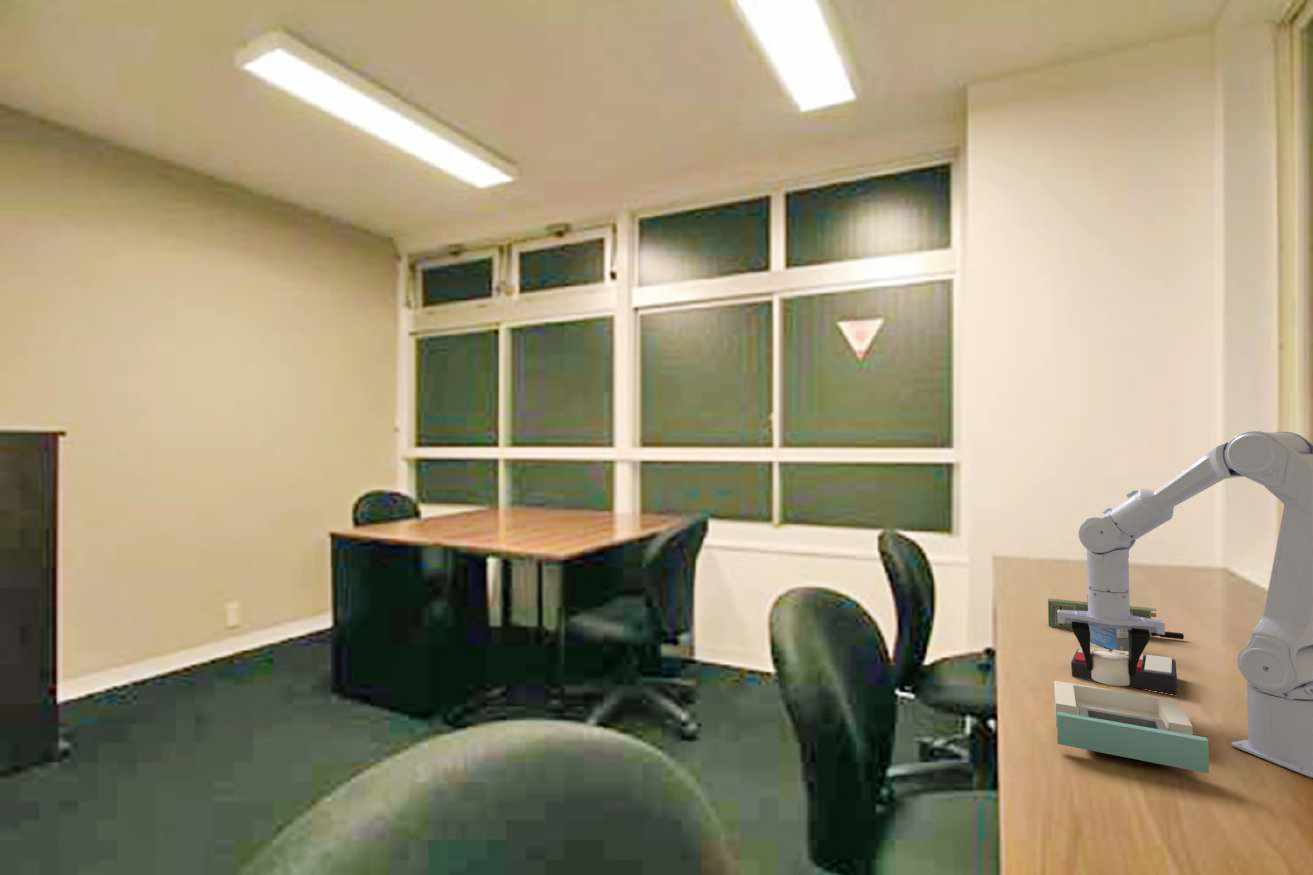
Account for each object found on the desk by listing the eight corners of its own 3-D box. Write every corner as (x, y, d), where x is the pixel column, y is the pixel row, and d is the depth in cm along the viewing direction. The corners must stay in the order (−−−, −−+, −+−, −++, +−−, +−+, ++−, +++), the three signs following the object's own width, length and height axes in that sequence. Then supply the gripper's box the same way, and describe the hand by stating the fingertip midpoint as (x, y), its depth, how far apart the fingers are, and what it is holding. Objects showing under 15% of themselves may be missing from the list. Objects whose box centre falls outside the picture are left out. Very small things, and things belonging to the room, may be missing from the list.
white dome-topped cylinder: (1137, 684, 104) (1137, 659, 104) (1112, 687, 103) (1111, 662, 103) (1108, 673, 109) (1107, 650, 110) (1083, 676, 108) (1083, 652, 108)
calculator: (1077, 643, 126) (1175, 654, 117) (1079, 665, 126) (1177, 678, 116) (1070, 657, 117) (1174, 671, 108) (1072, 681, 117) (1177, 697, 108)
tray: (1055, 715, 97) (1055, 688, 98) (1190, 739, 89) (1189, 709, 89) (1057, 744, 88) (1057, 714, 88) (1208, 774, 80) (1208, 741, 80)
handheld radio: (1048, 625, 153) (1182, 639, 140) (1048, 628, 150) (1185, 644, 137) (1047, 597, 152) (1181, 609, 140) (1048, 600, 150) (1184, 613, 137)
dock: (1054, 701, 105) (1054, 680, 106) (1178, 722, 97) (1177, 699, 97) (1056, 726, 96) (1055, 703, 96) (1193, 751, 88) (1192, 726, 88)
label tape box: (1135, 653, 130) (1134, 593, 130) (1115, 653, 130) (1114, 593, 130) (1105, 640, 139) (1104, 584, 139) (1086, 640, 139) (1085, 584, 139)
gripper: (1159, 589, 106) (1161, 671, 106) (1056, 580, 114) (1058, 657, 113) (1166, 597, 100) (1168, 684, 100) (1057, 588, 108) (1059, 669, 107)
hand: (1110, 671), depth 106 cm, fingers closed on white dome-topped cylinder, 5 cm apart
